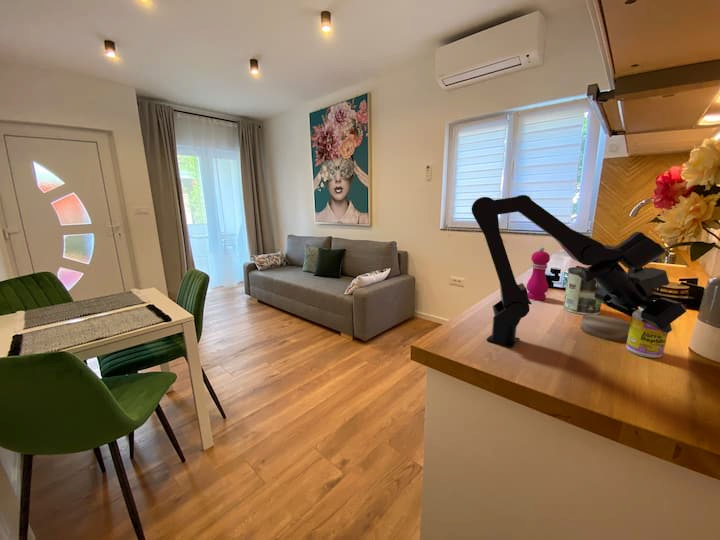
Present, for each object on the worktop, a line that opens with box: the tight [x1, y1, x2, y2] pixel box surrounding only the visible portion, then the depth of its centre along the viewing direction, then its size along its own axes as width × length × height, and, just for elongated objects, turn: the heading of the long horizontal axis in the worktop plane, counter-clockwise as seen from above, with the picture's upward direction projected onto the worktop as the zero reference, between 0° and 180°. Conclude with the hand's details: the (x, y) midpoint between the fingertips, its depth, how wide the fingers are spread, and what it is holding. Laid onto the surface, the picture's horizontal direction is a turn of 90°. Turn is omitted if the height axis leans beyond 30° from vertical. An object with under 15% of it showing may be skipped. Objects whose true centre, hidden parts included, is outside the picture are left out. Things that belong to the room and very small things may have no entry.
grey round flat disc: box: [580, 314, 631, 342], centre depth 84 cm, size 11×11×4 cm
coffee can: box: [562, 266, 602, 316], centre depth 100 cm, size 10×10×14 cm
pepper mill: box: [525, 246, 551, 301], centre depth 113 cm, size 7×7×20 cm
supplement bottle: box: [625, 299, 669, 359], centre depth 71 cm, size 7×7×13 cm
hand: (655, 325), depth 71 cm, fingers closed on supplement bottle, 7 cm apart
